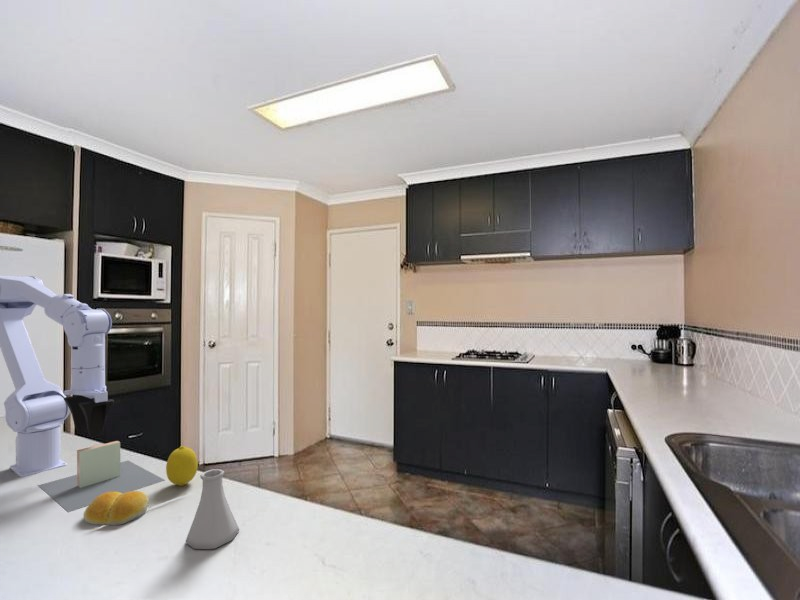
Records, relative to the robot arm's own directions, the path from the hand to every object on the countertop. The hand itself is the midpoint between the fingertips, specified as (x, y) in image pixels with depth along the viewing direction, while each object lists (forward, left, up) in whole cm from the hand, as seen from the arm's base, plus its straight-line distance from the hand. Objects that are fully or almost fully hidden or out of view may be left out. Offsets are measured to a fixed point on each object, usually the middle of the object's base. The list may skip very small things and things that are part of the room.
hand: (88, 431), depth 89 cm
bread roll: (+23, -3, -10) cm, 25 cm away
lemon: (+21, +9, -10) cm, 25 cm away
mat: (+7, 0, -9) cm, 12 cm away
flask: (+43, +3, -10) cm, 44 cm away
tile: (+5, 0, -9) cm, 10 cm away
